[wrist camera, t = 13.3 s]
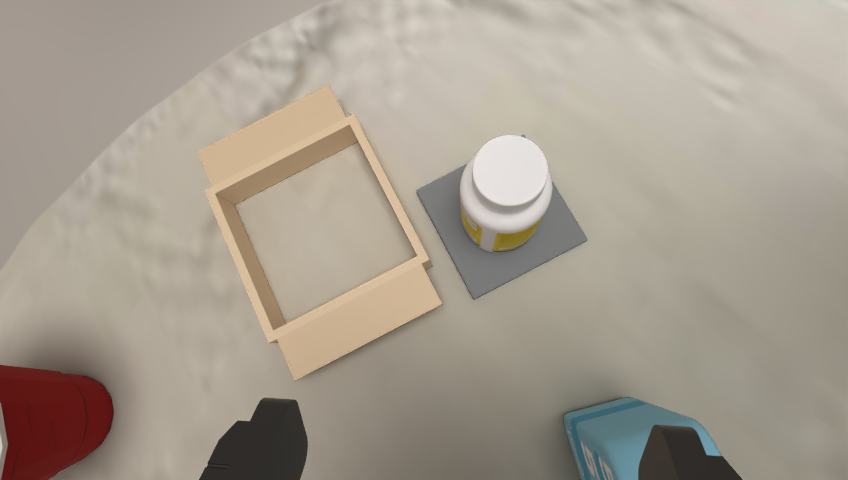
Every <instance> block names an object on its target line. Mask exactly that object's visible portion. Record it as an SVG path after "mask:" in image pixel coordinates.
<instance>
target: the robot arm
mask: <svg viewBox="0 0 848 480" xmlns="http://www.w3.org/2000/svg"><path fill="white" fill-rule="evenodd" d="M307 448H308V441H307V435H306V431H305V428H304V424H303V421H302V417H301V413H300V410H299V406H298V403H297V401H296V400H291V399H276V398H263V399H262V400H261V401H260V402H259V404H258V406H257V408H256V410H255V412H254V414H253V416H252V418H251V421H237V422H236V423H235V424H234V425H233V426H232V427H231V428H230V429H229V430H228V431H227V432H226V433H225V434H224V435H223V436H222V438H221V439H220V440H219V441H218V443H217V445H216V447H215V449H214V451H213V453H212V455H211V457H210V459H209V461H208V466H207V468H205V469H204V471H203V473H202V475H201V477H200V479H199V480H300V478H301V475H302V472H303V468H304V465H305V461H306V457H307ZM638 480H742V478H741V477H740V476H739V475H738V474H737V473H736V471H735V470H734V469H733V468H732V467H731V466H730V465H729V463H728V462H727V461H726V460H725V459H724V458H723V456H712V455H706V452H705V450H704V447H703V445H702V442H701V440H700V437H699V435H698V433H697V432H696V430H695V429H694V428H693V427H687V426H672V425H654V426H653V427H652V429H651V432H650V435H649V437H648V440H647V443H646V446H645V449H644V451H643V454H642V457H641V460H640V463H639V468H638Z"/></svg>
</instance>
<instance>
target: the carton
mask: <svg viewBox="0 0 848 480" xmlns="http://www.w3.org/2000/svg"><path fill="white" fill-rule="evenodd" d="M358 141H359V143H360V145H361V147H362V149H363V151H364V153H365V155H366V157H367V159H368V161H369V163H370V165H371V167H372V169H373V170H374V172H375V174H376V176H377V178H378V180H379V182H380V184H381V186H382V188H383V190H384V192H385V194H386V196H387V198H388V200H389V202H390V203H391V205H392V207H393V209H394V211H395V213H396V215H397V217H398V219H399V221H400V223H401V225H402V227H403V229H404V231H405V233H406V235H407V236H408V238H409V240H410V242H411V244H412V246H413V248H414V250H415V252H416V254H417V256H416V257H414V258H412V259H410V260H408V261H407V262H405V263H403V264H401V265H399V266H397V267H395V268H393V269H391V270H389V271H387V272H385V273H383V274H381V275H380V276H378V277H376V278H374V279H372V280H370V281H368V282H366V283H364V284H362V285H360V286H358V287H356V288H354V289H353V290H351V291H349V292H347V293H345V294H343V295H341V296H339V297H337V298H335V299H333V300H331V301H329V302H327V303H326V304H324V305H322V306H320V307H318V308H316V309H314V310H312V311H310V312H308V313H306V314H304V315H302V316H301V317H299V318H297V319H295V320H293V321H291V322H289V323H287V324H286V323H285V321H284V318H283V316H282V314H281V311H280V309H279V307H278V304H277V302H276V300H275V297H274V295H273V293H272V291H271V288H270V286H269V284H268V281H267V279H266V277H265V274H264V272H263V270H262V267H261V265H260V263H259V260H258V258H257V256H256V254H255V251H254V249H253V247H252V244H251V242H250V240H249V237H248V235H247V233H246V230H245V228H244V226H243V224H242V221H241V219H240V217H239V214H238V212H237V210H236V207H235V204H237V203H239V202H241V201H243V200H245V199H247V198H249V197H251V196H253V195H255V194H257V193H259V192H260V191H262V190H264V189H266V188H268V187H270V186H272V185H274V184H276V183H278V182H280V181H282V180H284V179H286V178H288V177H290V176H292V175H294V174H295V173H297V172H299V171H301V170H303V169H305V168H307V167H309V166H311V165H313V164H315V163H317V162H319V161H321V160H323V159H325V158H327V157H329V156H331V155H332V154H334V153H336V152H338V151H340V150H342V149H344V148H346V147H348V146H350V145H352V144H354V143H356V142H358ZM197 153H198V155H199V157H200V160H201V162H202V164H203V167H204V169H205V171H206V174H207V176H208V179H209V181H210V183H211V186H212V187H210V188H208V189H206V190H204V191H205V193H206V195H207V198H208V200H209V203H210V205H211V207H212V210H213V212H214V214H215V217H216V219H217V222H218V224H219V226H220V229H221V231H222V233H223V236H224V238H225V241H226V243H227V245H228V248H229V250H230V252H231V255H232V257H233V260H234V262H235V264H236V267H237V269H238V271H239V274H240V276H241V279H242V281H243V283H244V286H245V288H246V290H247V293H248V295H249V298H250V300H251V302H252V305H253V307H254V310H255V312H256V314H257V317H258V319H259V321H260V324H261V326H262V329H263V331H264V333H265V336H266V338H267V340H268V343H279V345H280V348H281V350H282V353H283V355H284V357H285V360H286V362H287V364H288V367H289V369H290V371H291V374H292V376H293V378H294V381H296V380H298V379H300V378H302V377H304V376H306V375H307V374H309V373H311V372H313V371H315V370H317V369H319V368H321V367H323V366H325V365H327V364H329V363H330V362H332V361H334V360H336V359H338V358H340V357H342V356H344V355H346V354H348V353H350V352H352V351H353V350H355V349H357V348H359V347H361V346H363V345H365V344H367V343H369V342H371V341H373V340H375V339H377V338H378V337H380V336H382V335H384V334H386V333H388V332H390V331H392V330H394V329H396V328H398V327H400V326H401V325H403V324H405V323H407V322H409V321H411V320H413V319H415V318H417V317H419V316H421V315H423V314H425V313H426V312H428V311H430V310H432V309H434V308H436V307H438V306H440V305H442V302H441V300H440V299H439V297H438V295H437V293H436V291H435V289H434V287H433V285H432V283H431V281H430V279H429V277H428V275H427V273H426V271H425V270H426V269H428V268H430V267H432V264H431V262H430V260H429V258H428V256H427V254H426V252H425V250H424V248H423V246H422V244H421V242H420V240H419V238H418V236H417V235H416V233H415V231H414V229H413V227H412V225H411V223H410V221H409V219H408V217H407V215H406V213H405V211H404V210H403V208H402V206H401V204H400V202H399V200H398V198H397V196H396V194H395V192H394V190H393V188H392V186H391V185H390V183H389V181H388V179H387V177H386V175H385V173H384V171H383V169H382V167H381V165H380V163H379V161H378V160H377V158H376V156H375V154H374V152H373V150H372V148H371V146H370V144H369V142H368V140H367V138H366V137H365V135H364V133H363V131H362V129H361V127H360V125H359V123H358V121H357V119H356V117H355V115H354V114H352V115H350V116H348V117H346V116H345V114H344V112H343V110H342V108H341V106H340V104H339V102H338V101H337V99H336V97H335V95H334V93H333V91H332V89H331V87H330V85H327V86H325V87H323V88H321V89H319V90H317V91H315V92H313V93H311V94H309V95H307V96H305V97H303V98H301V99H299V100H297V101H295V102H294V103H292V104H290V105H288V106H286V107H284V108H282V109H280V110H278V111H276V112H274V113H272V114H270V115H268V116H266V117H264V118H262V119H260V120H258V121H256V122H254V123H252V124H251V125H249V126H247V127H245V128H243V129H241V130H239V131H237V132H235V133H233V134H231V135H229V136H227V137H225V138H223V139H221V140H219V141H217V142H215V143H213V144H211V145H209V146H207V147H206V148H204V149H202V150H200V151H198V152H197Z"/></svg>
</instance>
